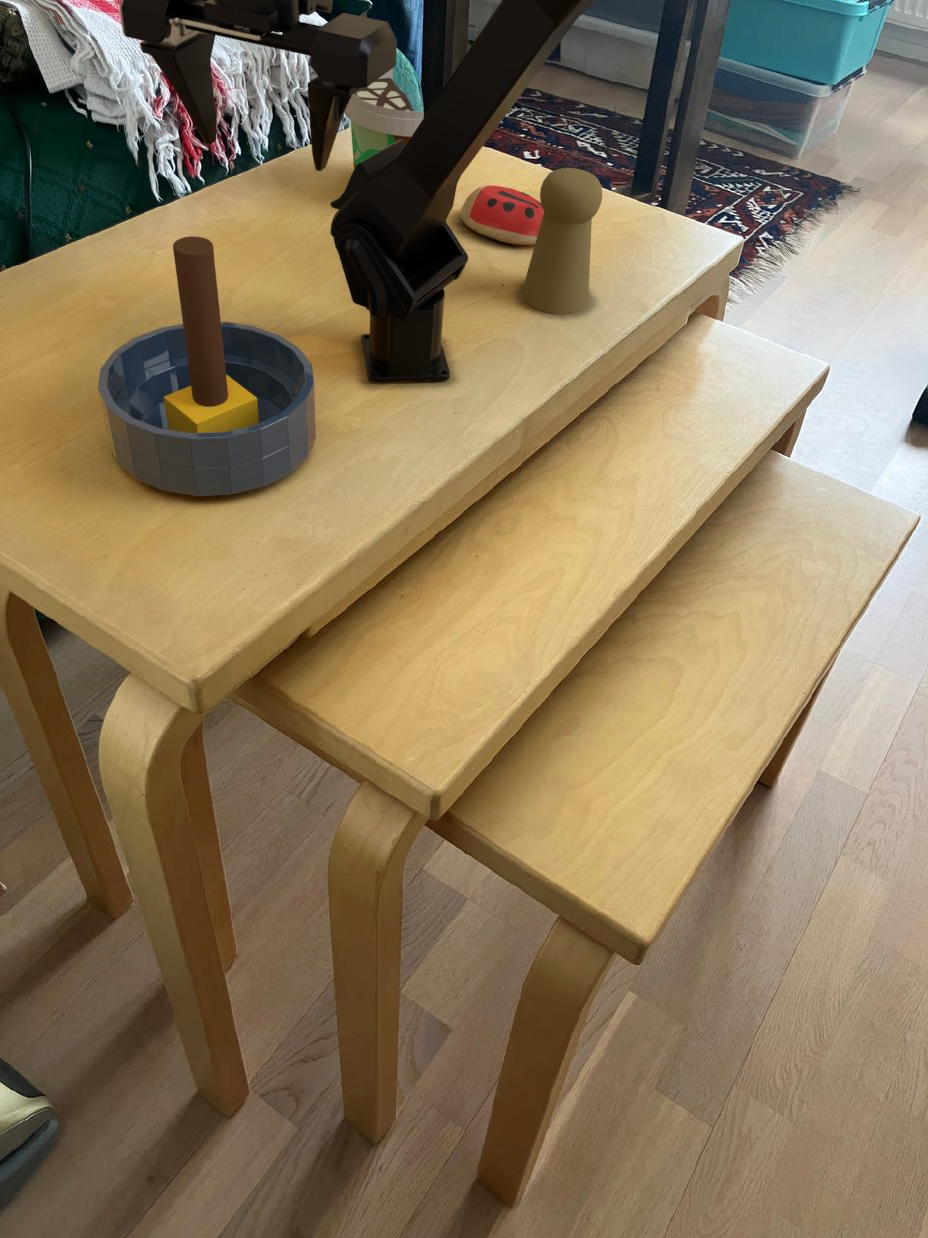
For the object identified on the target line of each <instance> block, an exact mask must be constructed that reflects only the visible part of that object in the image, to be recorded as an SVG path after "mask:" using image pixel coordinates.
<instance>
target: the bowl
mask: <svg viewBox="0 0 928 1238" xmlns="http://www.w3.org/2000/svg"><path fill="white" fill-rule="evenodd" d="M221 329H222V339H223V349H224V359H225V369H226V375H228V376H229V377H230V378H232V379H233V380H234V381H235V382H237V383H238V384H239V385H241V386H242V387H243V388H245V389H246V390H247V391H249V392H250V393H251V394H252V395H254V396H255V397H256V398H257V403H258V416H259V424H257V425H254V426H250V427H245V428H241V429H236V430H232V431H227V432H214V433H186V432H180V431H173V430H169V429H168V422H167V416H166V409H165V403H164V396H166V395H169V394H172V393H174V392H177V391H179V390H182V389H184V388H187V387H189V386H191V381H190V374H189V366H188V358H187V351H186V343H185V335H184V328H183V323H179V324H174V325H168V326H161V327H158V328H156V329H153V330H151V331H148V332H145V333H142V334H139V335H137V336H134V337H133V338H131V339H129V340H128V341H127V342H126V343H124V344H123V345H121V346H119V347H118V348H117V349H115V350H114V351H112V353H111V354H110V356H108V357H107V359H106V361H105V362H104V364H103V365H102V366H101V367H100V369H99V374H98V375H99V376H98V382H97V392H98V397H99V401H100V407H101V411H102V416H103V419H104V420H103V421H104V425H105V429H106V436H107V440H108V444H109V445H108V446H109V448H110V449H111V452H112V454H113V456H114V458H115V460H116V463H117V464H118V465H119V466H120V467H121V468H122V469H124V471H126V472H127V473H128V474H130V475H131V476H132V477H133V478H134V479H135V480H137V481H139V482H140V483H144V484H146V485H149V486H151V487H153V488H156V489H158V490H161V491H163V492H169V493H175V494H180V495H187V496H193V497H208V496H209V497H211V496H213V497H214V496H228V495H229V496H231V495H235V494H239V493H243V492H248V491H251V490H255V489H259V488H263V487H267V486H268V485H270V484H273V483H274V482H276V481H278V480H280V479H282V478H284V477H287V476H289V475H290V474H291V473H293V472H294V471H295V470H296V469H297V468H298V467H299V466H300V465H301V464H302V463H303V462H304V461H305V460H306V459H307V458H308V457H309V455H310V452H311V450H312V448H313V445H314V443H315V441H316V437H317V436H316V435H317V434H316V432H317V431H316V401H315V400H316V399H315V397H316V396H315V379H314V371H313V365H312V363H311V361H310V360H309V359H308V357H307V356H306V354H305V353H304V352H303V350H302V349H301V348H300V347H298V346H297V345H296V344H294V343H292V342H291V341H290V340H288V339H286V338H285V337H284V336H282V335H280V334H278V333H275V332H272V331H269V330H266V329H264V328H261V327H258V326H255V325H250V324H243V323H236V322H230V321H221Z"/></svg>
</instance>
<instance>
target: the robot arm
mask: <svg viewBox="0 0 928 1238" xmlns="http://www.w3.org/2000/svg"><path fill="white" fill-rule="evenodd" d="M598 1H599V0H501V1H500V2H499V3H498V5H497V7H496V8H495V9H494V11H493V12H492V14H491V16H490V17H489V18H488V20H487V21H486V23H485V25H484V26H483V28H482V29H481V30H480V32H479V34H478V35H477V37H476V38H475V39H474V41H473V43H472V44H471V46H470V47H469V49H468V50H467V52H466V53H465V55H464V56H463V57H462V60H461V61H460V62H459V64H458V65H457V67H456V68H455V70H454V71H453V73H452V75H451V76H450V78H449V79H448V80H447V82H446V84H445V85H444V86H443V88H442V90H441V91H440V92H439V94H438V96H437V97H436V98H435V100H434V102H433V104H431V106H430V107H429V109H428V111H427V112H426V114H424V118H423V120H422V121H421V123H420V124H419V126H418V127H417V129H416V130H415V132H414V133H413V135H412V137H411V138H410V140H409V141H408V143H407V144H406V145H405V143H404V142H403V140H402V139H400V140H398V141H396V142H395V143H393V144H391V145H389V146H388V147H386V148H384V149H383V150H381V151H379V152H377V153H376V154H374V155H372V156H370V157H369V158H367V159H365V160H364V161H362V162H360V163H358V164H357V166H356V168H355V169H354V168H353V171H352V172H351V175H350V177H349V179H348V183H347V185H346V187H345V190H344V192H343V193H342V194H341V195H339V197H338V198H335V199H334V200H332V201H331V202H330V207H331V208H333V209H335V210H337V211H336V212H335V213H334V216H333V217H332V221H331V222H330V230H329V233H330V235H331V237H332V238H333V242H334V243H333V244H334V247H335V249H336V251H337V254H338V257H339V260H340V264H341V267H342V271H343V274H344V277H345V280H346V283H347V288H348V291H349V294H350V297H351V300H352V303H354V304H355V305H357V306H361V307H363V308H365V309H366V310H367V311H368V313H369V333H365V334H362V335H361V336H360V344H361V348H362V354H363V359H364V365H365V370H366V375H367V380H368V382H371V383H402V382H403V383H405V382H437V381H438V382H441V381H443V382H444V381H448V380H449V379H450V376H451V370H450V368H449V364H448V361H447V359H446V354H445V350H444V347H443V344H442V337H443V322H444V310H445V309H444V308H445V296H446V295H445V288H446V287H447V286H448V285H449V284H451V283H453V281H457V280H458V279H459V278H460V277H461V275H462V273H463V272H464V269H465V268H466V265H467V263H468V261H469V255H468V253H467V252H466V250H465V249H464V247H463V245H462V244H461V242H460V240H458V237H456V235H455V233H454V232H453V230H452V228H451V227H450V226H449V224H448V223H447V220H448V218H449V215H450V213H451V212H452V210H453V207H454V203H455V197H456V192H457V187H458V183H459V180H460V179H461V177H462V176H463V174H464V172H465V171H467V168H468V167H469V166H470V164H471V163H472V162H473V160H474V159H475V158H476V156H477V155H478V154H479V152H480V151H481V149H482V148H483V147H484V145H485V144H486V142H488V140H489V139H490V138H491V136H492V135H493V133H494V132H495V131H496V129H497V128H498V127H499V126H500V124H501V123H502V121H503V120H504V118H505V117H506V116H507V114H508V113H509V112H510V110H511V109H512V107H513V106H514V105H515V103H517V101H518V99H519V98H520V97H521V96H522V94H523V93H524V92H525V90H526V89H527V87H528V86H529V85H530V83H531V82H532V81H533V79H534V78H535V77H536V75H537V74H538V72H539V71H540V70H541V68H542V67H543V66H544V64H545V63H546V61H547V60H548V59H549V57H550V56H551V55H552V54H553V52H554V51H555V49H556V48H557V47H558V46H559V44H560V43H561V42H562V40H563V39H564V37H566V35H567V33H568V32H569V30H571V28H572V27H573V25H574V24H575V22H576V21H577V20H578V19H579V18H580V17H581V16H582V15H583V14H584V13H585V12H586V11H587V10H588V9H590V8H591V7H592V6H593V5H595V4H596V3H597V2H598ZM333 3H334V0H120V4H119V8H118V9H119V14H120V22H121V29H122V34H123V35H124V37H125V38H126V37H127V38H130V39H134V40H139V41H140V43H139V46H140V50H141V52H142V54H143V53H144V54H147V55H150V56H151V58H152V59H153V60H154V62H155V63H156V65H157V66H158V67H159V69H160V71H161V72H162V74H163V75H164V76H165V78H166V80H167V82H168V83H169V84H170V85H171V87H172V89H173V90H174V91H175V93H176V95H177V97H178V98H179V100H180V102H181V103H182V105H183V107H184V109H185V111H186V112H187V114H188V116H189V117H190V119H191V121H192V123H193V125H194V126H195V128H196V130H197V132H198V134H199V135H200V137H201V139H202V140H203V142H204V144H206V145H209V146H210V145H212V144H213V143H216V141H217V131H218V130H217V129H218V128H217V127H218V125H217V121H218V120H217V110H216V103H215V92H214V91H215V90H214V82H213V74H212V73H213V72H212V65H211V64H212V63H211V60H212V54H213V49H214V44H215V39H216V36H217V37H223V38H227V39H231V40H236V41H239V42H245V43H249V44H255V45H258V46H263V47H268V48H272V49H277V50H281V51H286V52H291V53H296V54H299V55H304V56H309V65H310V67H311V69H312V70H313V71H314V73H315V75H316V77H314V78H313V79H311V80H309V81H308V82H307V100H308V101H307V102H308V109H309V110H308V112H309V113H308V115H309V127H310V142H311V144H310V145H311V154H312V160H313V165H314V169H315V171H316V172H317V171H318V172H322V171H323V170H325V168H326V167H327V165H328V162H329V159H330V156H331V153H332V150H333V147H334V144H335V141H336V138H337V135H338V132H339V129H340V126H341V123H342V120H343V118H344V116H345V113H344V112H345V110H346V107H347V105H348V103H349V101H350V99H351V97H352V95H353V94H354V93H355V92H357V91H358V90H359V89H361V88H365V87H368V86H369V85H371V84H372V83H373V82H375V81H376V80H377V79H379V78H380V77H381V76H383V75H384V74H385V73H387V72H388V71H389V70H391V69H394V68H395V67H396V66H397V48H398V47H397V46H398V40H397V38H396V35H395V33H394V31H393V30H392V29H393V28H392V27H391V26H390V23H389V22H388V21H386V20H385V21H384V20H379V19H375V18H369V17H365V16H360V15H355V14H350V13H345V12H342V13H341V14H339V15H337V16H336V17H334V18H332V19H330V20H329V21H327V22H326V23H324V24H323V25H318V24H314V23H310V22H309V23H308V22H303V21H300V19H301V18H300V17H301V16H303V15H304V16H310V15H312V14H315V13H316V12H317V11H319V12H324V13H329V14H331V13H332V11H333V5H334V4H333Z"/></svg>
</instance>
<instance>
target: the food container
mask: <svg viewBox="0 0 928 1238" xmlns="http://www.w3.org/2000/svg"><path fill="white" fill-rule="evenodd" d="M344 116H346V117H347V119H349V120H350V129H351V130H350V133H351V147H352V159H353V160H352V161H353V170H354V169H355V168H356V166H357V164H358V163H360V162H362V161H364V160H365V159H367V158H369V157H370V156H372V155H374V154H376V153H377V152H379V151H381V150H383V149H384V148H386V147H388V146H389V145H391V144H393V143H395V142H396V141H398V140H400V139H402V140H403V142H404V143H405V145H406V144H407V143H408V141H409V140H410V138H411V137H412V135H413V133H414V132H415V130H416V129H417V127H418V126H419V124H420V123H421V121H422V120H423V118H424V117H425V112H424V111H419V110H417V111H416V110H414V108H413V106H412V105H411V102H410V100H409V98H408V96H407V95H406V93H405V92H403V91H402V90H401V89H400V88H399V87H398V86H397V84H396V82H394V68H392V69H391V70H389V71H388V72H387V73H385V74H384V75H383V76H381V77H380V78H379V79H377V80H376V81H375V82H373V83H372V84H371V85H369V86H368V87H365V88H361V89H359V90H358V91H357V92H355V93H354V94H353V95H352V97H351V99H350V101H349V103H348V105H347V107H346V110H345V112H344Z"/></svg>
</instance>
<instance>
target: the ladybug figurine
mask: <svg viewBox="0 0 928 1238" xmlns="http://www.w3.org/2000/svg"><path fill="white" fill-rule="evenodd" d="M543 214H544V210H543V208H542V206H541V201H539V200H538V199H536V198H534V197H533V196H532V195H530V194H528V193H525V192H523V191H519V190H517V189H515V188H511V187H507V186H500V185H490V184H489V185H482V186H479V187H477V188H476V189H474V190H473V191H472V192H471V193H469V195H468V196H467V197H466V199H465V200H464V202H463V204H462V206H461V211H460V218H461V220H462V221H463V223H464V224H465V225H466V226H467V227H468V228H470V229H471V230H473V231H474V232H476V233H477V234H480V235H482V236H484V237H487V238H490V239H492V240H496V241H498V242H503V243H507V244H512V245H520V246H532V245H533V246H535V243H536V239H537V236H538V232H539V228H540V225H541V221H542V217H543Z"/></svg>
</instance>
